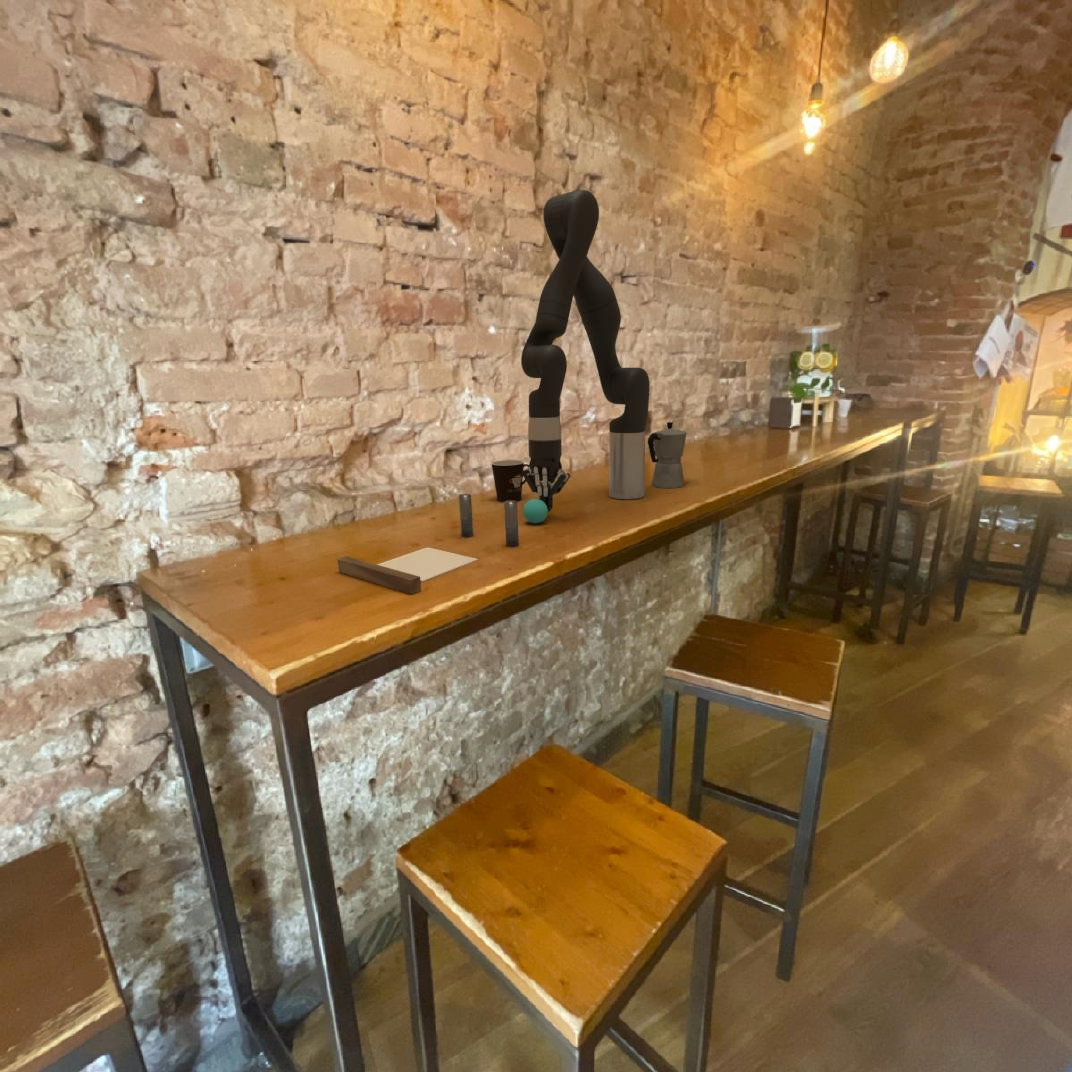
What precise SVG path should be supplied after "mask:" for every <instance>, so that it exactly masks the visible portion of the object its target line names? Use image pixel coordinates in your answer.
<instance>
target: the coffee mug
mask: <svg viewBox="0 0 1072 1072" xmlns="http://www.w3.org/2000/svg"><path fill="white" fill-rule="evenodd" d="M525 467H527V468H528V467H529V463H528V464H526V463H525V461H524V460H518V459H503V460H496V461H493V462H491V468H492V475H493V476H492V477H493V480H494V482H493V483H494V487H495V493H496V499H497V501H498V502H499V503H504V502H505V501H511V500H512V501H517V502H519V501H521V500H522V493H523V485H524V484H525V483H527V482H526V480H525V479H523V478H524V477H523V475H522V471H523V470H525V469H524V468H525Z"/></svg>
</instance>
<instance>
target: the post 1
mask: <svg viewBox="0 0 1072 1072" xmlns="http://www.w3.org/2000/svg"><path fill="white" fill-rule="evenodd" d="M458 503H459V504H458V505H459V506H458V507H459V519H460V535H461V538H472V537H474V524H473V523H474V521H473V520H474V519H473V505H472V503H473V502H472V494H471V493H461V494H459V495H458Z"/></svg>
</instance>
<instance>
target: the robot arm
mask: <svg viewBox="0 0 1072 1072" xmlns="http://www.w3.org/2000/svg"><path fill="white" fill-rule="evenodd" d="M599 208H600V207H599V203H598V200H597V198H596V197H595V195H594V194H593V193H592V192H591V191H589V190H587V189H577V190H572V191H569V192H565V193H561V194H557V195H555V196H552V197H550V198H549V199H547V201H546V202H545V204H544V207H543V223H544V228H545V230H546V233H547V236H548V239H549V241H550V243H551V245H552V247H553V249H554V251H555V255H556V256H557V258H558V260H557V263H556V265H555V267H554V268H553V270H552V272H551V273H550V275H549V277H548V278H547V280H546V282H545V284H544V286H543V288H542V291H541V294H540V297H539V302H538V306H537V310H536V317H535V322H534V324H533V327H532V328H531V330H530V332H529V333H528V337H527V338H526V342H525V344H524V346H523V349H522V351H521V359H520V363H521V368H522V371H523V373H524V375H525V376H527V377H529V378H532V379H540V381H539V385H538V388H537V389H534V390H531V391H530V393H529V394H528V426H527V432H528V433H527V436H528V437H527V439H528V456H529V457H528V458H530V461H529V463H528V465H529V467H527V468H526V469H523V471H522V475H523V478H524V480H526V482H525V483H527V485H528V487H529V489H530V491H531V492H532V493H536V494H537V496H538V499H539V500H541V501H543V502H544V503H545V504H546V506H547V509H548V512H551V511H552V509H553V505H554V504H553V499H554V495H556V494H560V493H561V491H562V489H564V487H565V485H566V484H567V482H568V481H569V479H570V478H571V473H568V472H567V473H566V472H565V471H564V470H563V465H562V462H561V457H562V450H563V449H562V423H561V422H562V421H561V396H562V391H563V387H564V383H565V378H566V373H567V368H568V367H567V366H568V363H567V356H566V354H565V351H564V350H563V348H562V347H560V346H559V345H557V344H553V343H554V341H555V340H556V339H558V338H561V337H562V336H563V335H564V334H566V331H567V328H568V323H569V317H570V313H571V308H572V304H573V298H574V301H575V304H576V308H577V311H578V313H579V316H580V319H581V323H582V325H583V327H584V330H585V332H586V333H585V334H586V336H587V337H588V338H587V339H588V341H589V344H590V348H591V350H592V354H593V357H594V361H595V365H596V370H597V372H598V373H597V374H598V378H599V381H600V386H601V389H602V392H603V395H604V397H605V399H606V400H607V401H608V402H609V403H610V404H615V405H624V410H623V413H622V414H621V415H620V416H618V417H616V418H613V419H611V420H610V422H609V428H608V429H609V437H608V439H609V441H608V443H609V449H608V450H609V456H608V457H609V461H608V463H609V465H608V466H609V468H608V470H609V471H608V473H609V476H608V477H609V479H608V482H609V483H608V486H609V487H608V488H609V491H608V494H609V497H610V498H613V499H617V500H637V499H640V498H643V497H645V494H646V489H645V488H646V459H645V458H646V457H645V456H646V454H645V453H646V426H647V421H648V417H649V405H650V404H649V403H650V391H651V388H650V387H651V386H650V385H651V384H650V377H649V374H648V373H647V372H648V371H646V369H644V368H642V367H623V366H622V365H621V364H620V362H619V358H618V356H617V351H616V344H617V343H616V342H617V338H618V335H619V331H620V327H621V322H622V321H621V320H622V314H621V310H620V306H619V302H618V299H617V296H616V293H615V289H614V288H613V287H612V284H611V283H610V282H609V280H608V279H607V278H606V277H605V276H604V275H603V274H602V272H601V271H600V270H599V269H598V268H597V267H596V266H595V264H593V263H592V262H591V260H590V259H589V258H588V254H589V250H590V248H591V245H592V243H593V239H594V237H595V234H596V230H597V229H598V228H597V227H598V225H599V217H600V209H599Z"/></svg>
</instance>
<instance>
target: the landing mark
mask: <svg viewBox="0 0 1072 1072" xmlns="http://www.w3.org/2000/svg"><path fill="white" fill-rule="evenodd" d="M476 561H479V559H478V558H474V557H471V556H466V555H462V554H458V553H453V552H449V551H445V550H442V549H441V550H440V549H437V548H432V547H424V548H422V549H418V550H416V551H413V552H409V553H407V554H403V555H401V556H397V557H394V558H392V559H389V560H386V561H384V562H381V563H377V564H376V565H380V566H383V567H387V568H391V569H394V570H398V571H401V572H405V573H409V574H412V575H416V576H419V577H420V581H421V582H422V583H423V582H426V581H428V580H431V579H433V578H436V577H439V576H441V575H443V574H446V573H449V572H451V571H454V570H456V569H460V568H462V567H463V566H466V565H469V564H472V563H474V562H476Z"/></svg>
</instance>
